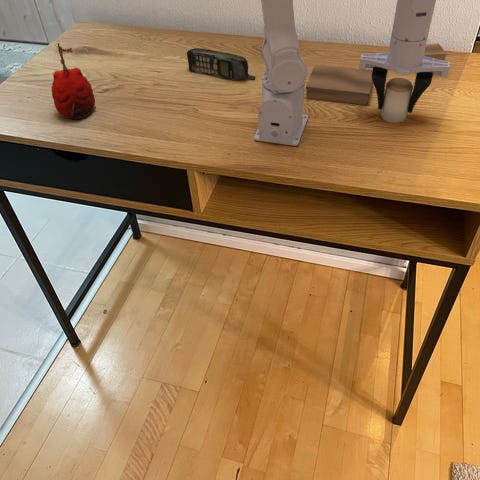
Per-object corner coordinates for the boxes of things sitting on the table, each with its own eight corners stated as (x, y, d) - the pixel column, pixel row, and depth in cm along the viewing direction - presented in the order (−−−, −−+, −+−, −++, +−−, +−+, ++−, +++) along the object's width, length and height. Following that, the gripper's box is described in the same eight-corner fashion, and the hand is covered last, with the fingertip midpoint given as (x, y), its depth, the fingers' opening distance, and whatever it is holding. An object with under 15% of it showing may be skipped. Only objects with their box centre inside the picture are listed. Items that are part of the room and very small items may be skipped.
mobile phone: (184, 51, 105) (249, 61, 100) (191, 45, 107) (256, 54, 101) (187, 73, 108) (251, 84, 103) (194, 67, 110) (257, 77, 105)
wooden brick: (367, 105, 96) (369, 93, 94) (305, 98, 98) (305, 86, 97) (373, 82, 102) (375, 70, 100) (314, 76, 104) (314, 64, 103)
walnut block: (440, 74, 103) (446, 53, 99) (419, 75, 103) (424, 55, 99) (433, 64, 106) (438, 43, 103) (413, 65, 106) (417, 45, 103)
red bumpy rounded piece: (94, 99, 102) (73, 25, 91) (100, 116, 97) (79, 40, 87) (56, 108, 100) (30, 33, 90) (61, 126, 96) (34, 50, 85)
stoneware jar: (405, 124, 91) (412, 91, 86) (379, 121, 92) (385, 88, 87) (407, 110, 94) (414, 78, 89) (382, 107, 95) (387, 75, 90)
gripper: (361, 41, 81) (351, 115, 91) (456, 49, 78) (436, 125, 87) (366, 22, 86) (357, 95, 95) (457, 29, 82) (437, 103, 92)
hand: (395, 108), depth 92 cm, fingers closed on stoneware jar, 5 cm apart
